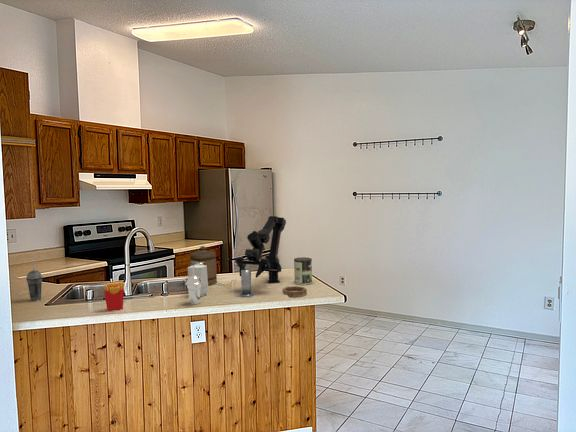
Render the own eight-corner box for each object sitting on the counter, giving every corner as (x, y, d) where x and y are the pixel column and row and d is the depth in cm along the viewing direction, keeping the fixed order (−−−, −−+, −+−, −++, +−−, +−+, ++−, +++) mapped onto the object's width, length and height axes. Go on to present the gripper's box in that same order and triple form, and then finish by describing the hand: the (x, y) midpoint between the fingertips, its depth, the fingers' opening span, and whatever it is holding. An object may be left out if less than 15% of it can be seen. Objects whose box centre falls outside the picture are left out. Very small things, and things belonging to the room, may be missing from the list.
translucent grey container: (186, 283, 256) (184, 246, 254) (206, 279, 267) (204, 243, 265) (202, 287, 246) (200, 249, 244) (222, 282, 257) (221, 245, 256)
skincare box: (208, 294, 232) (207, 265, 230) (201, 297, 226) (200, 267, 224) (195, 292, 235) (194, 264, 234) (188, 295, 229) (187, 266, 228)
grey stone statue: (187, 301, 219) (185, 261, 218) (205, 300, 220) (204, 261, 218) (184, 305, 211) (183, 265, 209) (203, 305, 212) (202, 264, 210)
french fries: (105, 311, 204) (103, 284, 202) (105, 309, 208) (104, 282, 206) (126, 309, 207) (124, 282, 205) (126, 306, 211) (124, 280, 209)
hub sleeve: (239, 293, 228) (238, 269, 227) (252, 292, 229) (251, 268, 228) (240, 297, 221) (240, 271, 220) (254, 296, 223) (253, 271, 222)
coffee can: (313, 281, 258) (312, 257, 257) (310, 285, 248) (310, 260, 247) (296, 280, 260) (295, 257, 259) (292, 284, 250) (292, 260, 249)
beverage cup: (27, 303, 220) (24, 263, 219) (28, 299, 227) (25, 261, 225) (43, 300, 224) (41, 262, 222) (44, 297, 230) (41, 260, 229)
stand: (242, 293, 231) (242, 292, 231) (258, 295, 228) (258, 293, 228) (234, 298, 223) (234, 296, 223) (250, 299, 219) (250, 297, 219)
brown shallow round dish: (279, 291, 234) (279, 287, 234) (303, 290, 237) (303, 285, 237) (285, 298, 221) (285, 293, 221) (309, 296, 224) (309, 291, 224)
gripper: (236, 242, 234) (226, 266, 224) (268, 243, 227) (259, 268, 217) (243, 254, 241) (234, 278, 232) (274, 256, 235) (266, 281, 225)
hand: (248, 276), depth 226 cm, fingers open, 9 cm apart
